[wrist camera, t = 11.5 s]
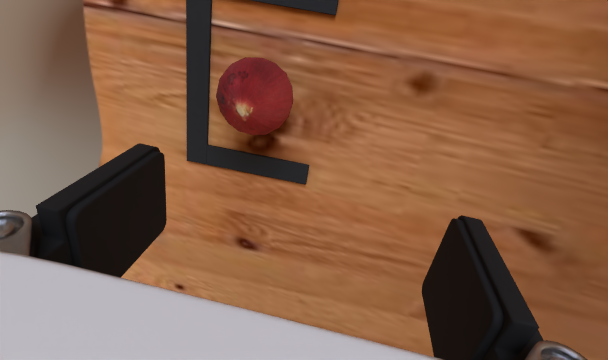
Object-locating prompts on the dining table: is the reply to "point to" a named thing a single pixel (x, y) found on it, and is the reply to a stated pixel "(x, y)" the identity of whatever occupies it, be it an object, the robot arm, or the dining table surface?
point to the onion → (255, 96)
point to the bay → (199, 97)
